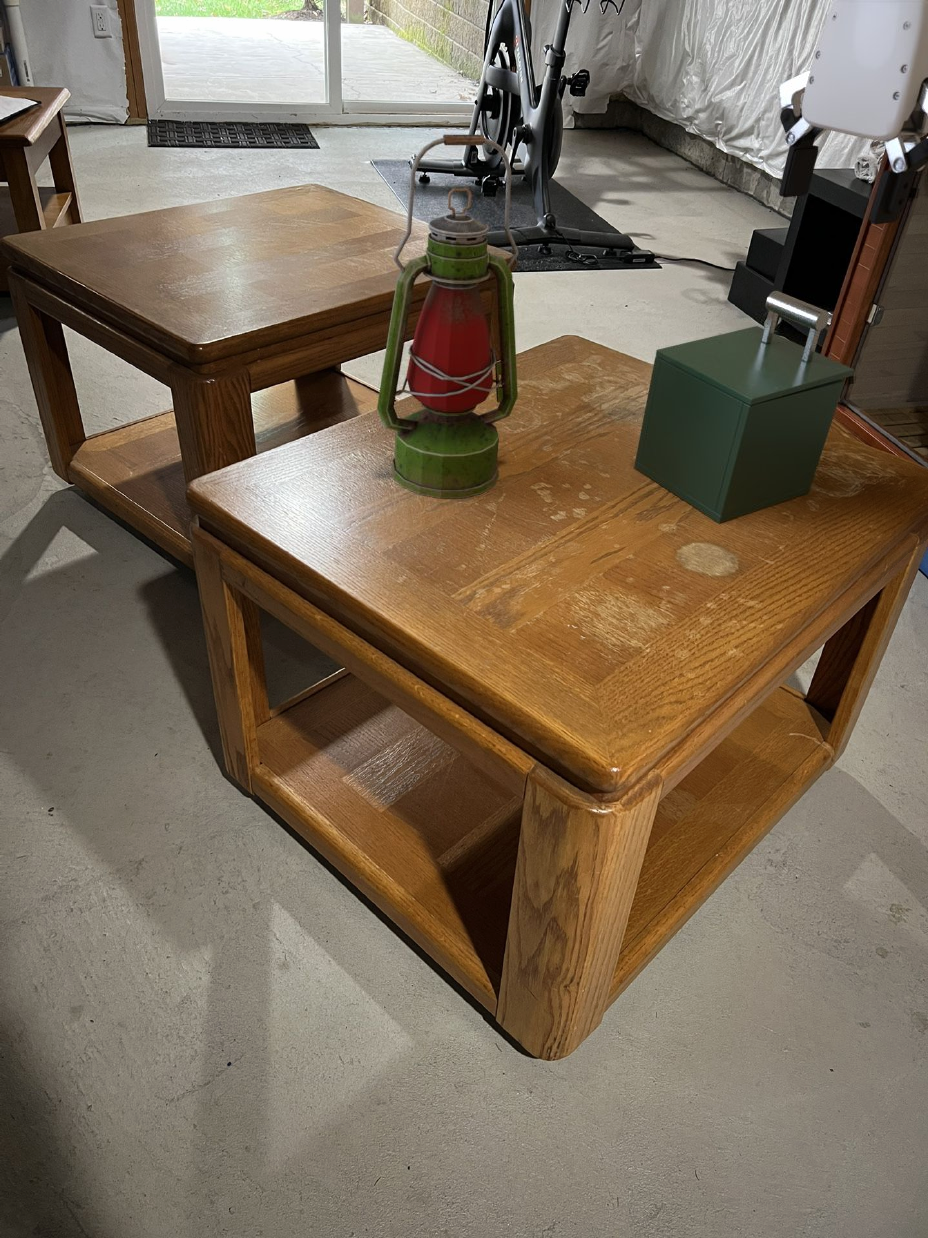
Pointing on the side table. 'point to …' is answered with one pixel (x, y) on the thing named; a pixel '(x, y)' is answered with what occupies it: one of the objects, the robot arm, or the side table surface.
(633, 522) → the side table surface
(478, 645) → the side table surface
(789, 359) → the bin lid
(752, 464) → the bin
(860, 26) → the robot arm
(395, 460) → the lantern
